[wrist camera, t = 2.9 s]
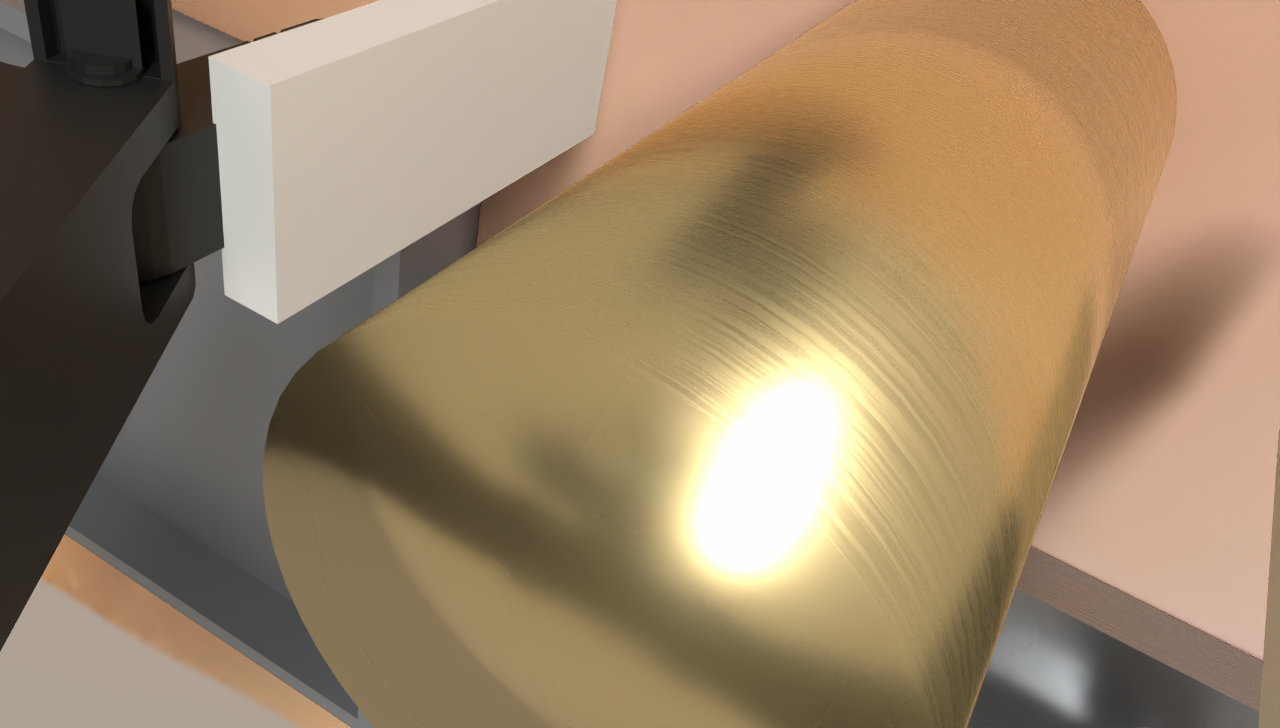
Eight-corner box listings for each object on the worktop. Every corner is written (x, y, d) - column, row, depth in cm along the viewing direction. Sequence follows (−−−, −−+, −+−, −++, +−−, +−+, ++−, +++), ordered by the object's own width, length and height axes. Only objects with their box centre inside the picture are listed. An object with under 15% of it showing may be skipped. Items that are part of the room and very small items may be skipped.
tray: (-131, -129, 26) (-242, -115, 24) (485, 152, 21) (403, 196, 19) (1, 406, 37) (-69, 443, 35) (430, 681, 32) (374, 742, 30)
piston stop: (889, -110, 15) (248, 182, 6) (1250, 8, 14) (1099, 608, 5) (793, 197, 18) (272, 688, 9) (1080, 319, 17) (793, 1043, 8)
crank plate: (500, 283, 22) (459, 311, 21) (1283, 671, 18) (1280, 732, 17) (456, 634, 30) (424, 668, 29) (1003, 974, 25) (989, 1029, 24)
